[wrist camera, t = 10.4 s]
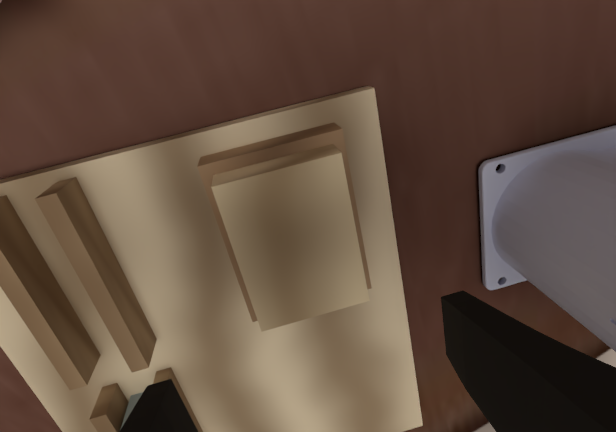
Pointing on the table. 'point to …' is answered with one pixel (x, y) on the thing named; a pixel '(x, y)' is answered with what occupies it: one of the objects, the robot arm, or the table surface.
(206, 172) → the plate
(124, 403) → the rack
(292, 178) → the offcut top
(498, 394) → the robot arm
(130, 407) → the grey blue slab
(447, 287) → the table surface
